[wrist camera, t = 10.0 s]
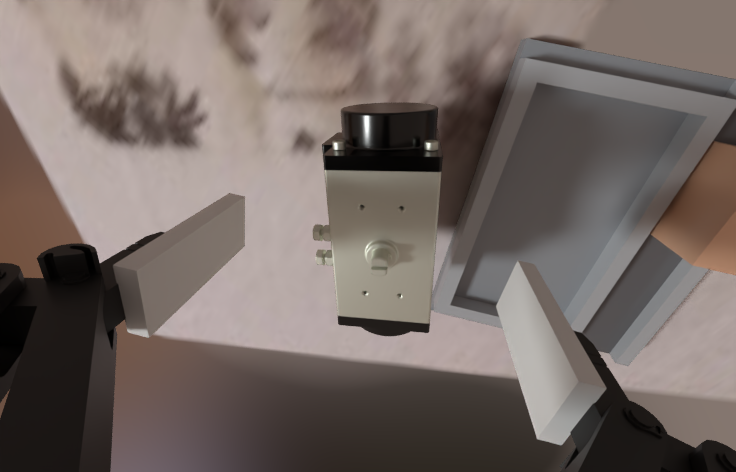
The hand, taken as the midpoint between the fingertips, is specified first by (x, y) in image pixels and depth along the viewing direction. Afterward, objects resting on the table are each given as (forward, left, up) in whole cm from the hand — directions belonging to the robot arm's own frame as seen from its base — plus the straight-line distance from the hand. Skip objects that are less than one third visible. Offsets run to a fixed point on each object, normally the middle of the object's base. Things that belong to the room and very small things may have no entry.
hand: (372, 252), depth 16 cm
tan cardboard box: (-4, +19, -9) cm, 21 cm away
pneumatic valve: (0, 0, -10) cm, 10 cm away
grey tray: (0, +14, -10) cm, 17 cm away
